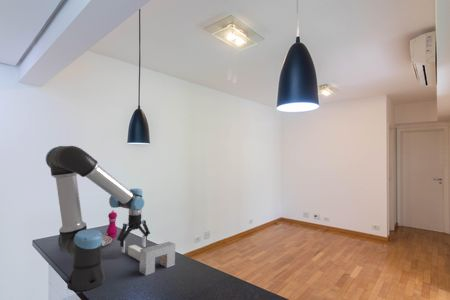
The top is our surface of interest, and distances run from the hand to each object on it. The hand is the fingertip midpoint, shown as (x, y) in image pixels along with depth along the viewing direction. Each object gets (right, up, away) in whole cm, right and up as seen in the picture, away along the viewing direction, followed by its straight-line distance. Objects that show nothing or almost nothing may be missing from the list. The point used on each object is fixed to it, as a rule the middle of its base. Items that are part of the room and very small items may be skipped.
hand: (133, 249), depth 150 cm
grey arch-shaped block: (+20, -3, -18) cm, 27 cm away
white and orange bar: (+7, -3, -6) cm, 10 cm away
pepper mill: (-28, -4, +32) cm, 43 cm away
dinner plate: (-35, -4, +14) cm, 38 cm away
